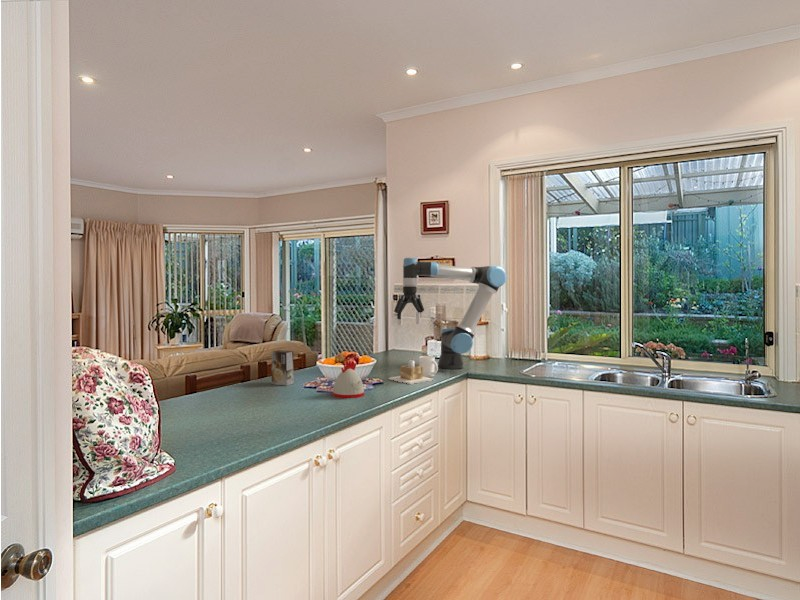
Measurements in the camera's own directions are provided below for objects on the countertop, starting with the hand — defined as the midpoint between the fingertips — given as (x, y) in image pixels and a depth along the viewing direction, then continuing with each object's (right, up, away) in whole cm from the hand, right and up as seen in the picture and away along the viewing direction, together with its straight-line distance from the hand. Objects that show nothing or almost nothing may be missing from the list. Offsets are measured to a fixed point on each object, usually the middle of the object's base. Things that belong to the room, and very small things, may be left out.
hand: (409, 324), depth 287 cm
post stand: (+1, -28, -19) cm, 34 cm away
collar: (+1, -27, -19) cm, 33 cm away
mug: (+10, -28, -9) cm, 31 cm away
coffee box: (-62, -28, -33) cm, 76 cm away
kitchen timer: (-28, -29, -55) cm, 68 cm away
